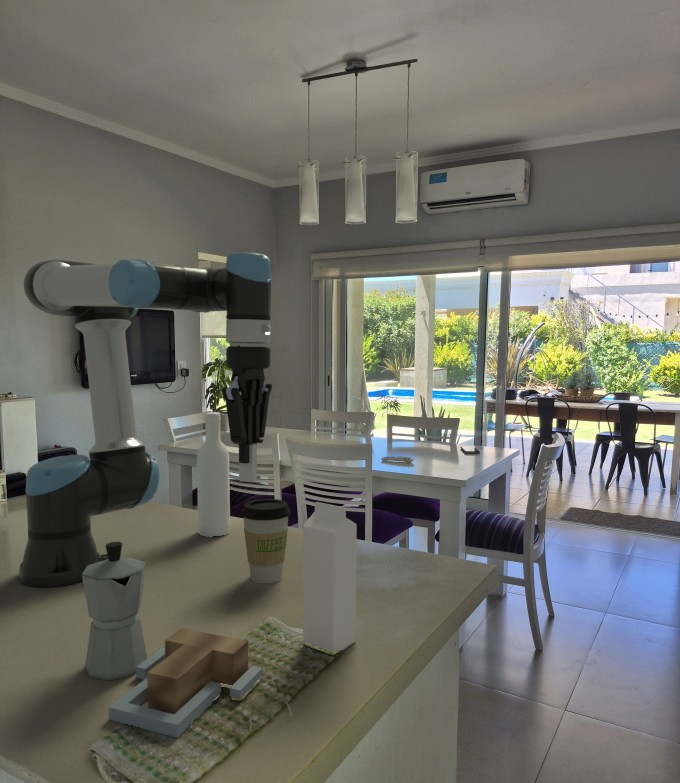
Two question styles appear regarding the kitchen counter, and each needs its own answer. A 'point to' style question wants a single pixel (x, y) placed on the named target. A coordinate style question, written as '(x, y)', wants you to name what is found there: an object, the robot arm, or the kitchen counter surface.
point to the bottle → (213, 481)
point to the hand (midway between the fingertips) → (247, 480)
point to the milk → (329, 578)
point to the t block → (194, 667)
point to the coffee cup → (266, 538)
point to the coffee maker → (114, 615)
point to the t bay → (177, 723)
